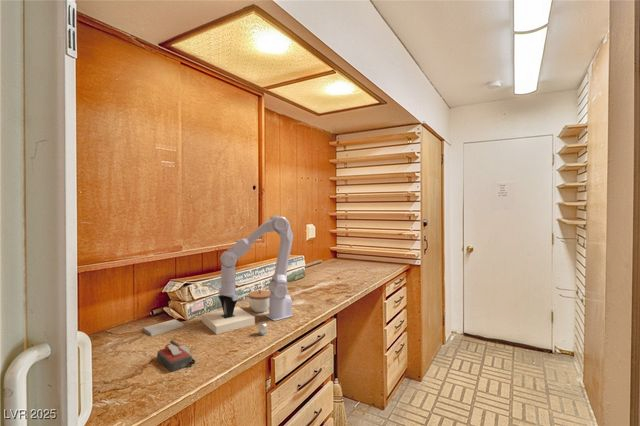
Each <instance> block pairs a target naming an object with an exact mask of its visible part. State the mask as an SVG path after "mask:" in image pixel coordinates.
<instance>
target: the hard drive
mask: <svg viewBox="0 0 640 426" xmlns="http://www.w3.org/2000/svg"><path fill="white" fill-rule="evenodd" d="M183 327H185V324H184V323H183V322H180V321H179V320H177V319H175V318H173V319H171V320H167V321H163V322H160V323H156V324H151V325H148V326H144V327H142V331H143V332H145V334H148V335H149V336H150V337H153V336H157V335H159V334H160V335H161V334H163V333H166V332H170V331H173V330H177V329H180V328H183Z"/></svg>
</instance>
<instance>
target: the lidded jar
mask: <svg viewBox="0 0 640 426" xmlns="http://www.w3.org/2000/svg"><path fill="white" fill-rule="evenodd" d="M270 293H271V291H270V290H262V289H259V290H253V291H251V292H249V293H248V295H247V296H248V304H249V307H250V309H251V310H252V311H253V312H254V313H265V312H267V310H268V309H269V295H270Z"/></svg>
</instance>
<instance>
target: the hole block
mask: <svg viewBox="0 0 640 426" xmlns="http://www.w3.org/2000/svg"><path fill="white" fill-rule="evenodd" d="M201 323H202V324H204V325H205V326H206V327H207V328H209V330H211V331H212V332H213V333H214V334H215V335H220V334H223V333H227V332H231V331H235V330H240V329H243V328H247V327H251V326H254V325H256V316H254V315H252V314H250V313H249V312H248V311H245V310H243V309H242V308H241V307H239V306H235V308H234V312H233V315H232V317H230V318H226V319H225V318H224V312H223V309H221V310H217V311H211V312H207V313H201Z"/></svg>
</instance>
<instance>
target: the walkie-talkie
mask: <svg viewBox="0 0 640 426" xmlns="http://www.w3.org/2000/svg"><path fill="white" fill-rule="evenodd" d="M169 341H170V344H169V345H166V346H165V347H164V348H163V349H160V350H157V355H156V356H157V357H156V359H157V360H158V361H159V363H161V364H162V365H163V366H164V367H165V368H167V369H168V370H169V372H177V371H179V370H182V369H184V368H188V367H190V366H192V365H194V364H195V363H196V360H195V359H194V358H193V356H192V355H191V354H190V348H189V347H187V346H186V345H185V344H183V345H181V344H178V343H177V342H176V341H174V340H172V339H171V340H169Z"/></svg>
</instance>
